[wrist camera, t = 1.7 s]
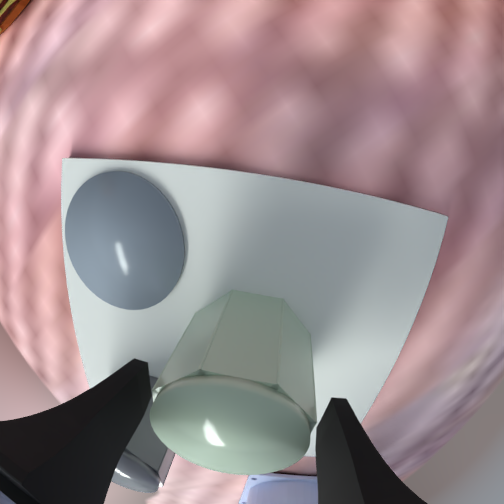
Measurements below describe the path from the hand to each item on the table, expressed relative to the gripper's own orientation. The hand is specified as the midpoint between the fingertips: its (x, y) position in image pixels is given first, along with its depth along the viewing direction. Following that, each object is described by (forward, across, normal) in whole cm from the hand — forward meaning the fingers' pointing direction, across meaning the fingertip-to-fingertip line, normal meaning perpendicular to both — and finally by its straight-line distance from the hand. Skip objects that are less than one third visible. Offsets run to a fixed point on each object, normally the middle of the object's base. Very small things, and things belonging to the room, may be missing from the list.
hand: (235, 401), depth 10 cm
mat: (+5, +2, +1) cm, 5 cm away
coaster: (+4, +7, -4) cm, 9 cm away
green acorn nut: (+4, 0, 0) cm, 4 cm away
